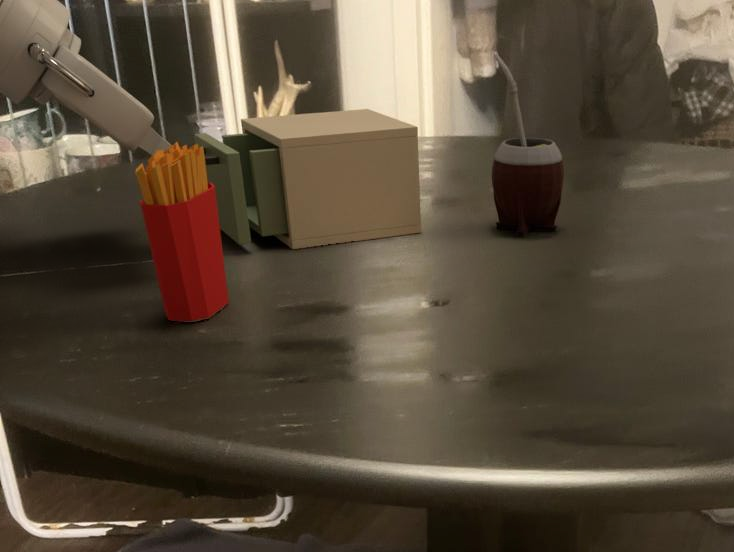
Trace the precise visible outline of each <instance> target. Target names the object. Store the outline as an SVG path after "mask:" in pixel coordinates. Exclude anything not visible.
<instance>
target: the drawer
mask: <svg viewBox="0 0 734 552" xmlns="http://www.w3.org/2000/svg"><path fill="white" fill-rule="evenodd" d="M221 139H222V141H220V140H218V139H217V138H215V137H213V136H211V135H210V134H208V133H206V132H203V133H195V134H194V141H195V144H198V148H199V147H202V146H203V148H204V157H205V165H206V174H207V182H210V183H212V184H213V185H214V187H215V193H216V201H217V210H218V218H219V226H220V231H222V232H223V233H225V234H226V235H227V236H228V237H230V239H232V240H233V241H235V242H236V243H237V244H238V245H246V244H247V245H248V244H251V243H252V239H251V230H250V229H252V230H253V231H254V232H256V233H257V234H259V235H260V236H261V237H269V236H270V237H271V236H274V235H278V234H286V233H289V231H288V223H287V214H286V205H285V196H284V187H283V178H282V170H281V161H280V152H279V147H278V146H276V145H274V144H272V143H270V142H269V141H267V140H265V139H263V138H261V137H259V136H257V135H255V134H253V133H244V134H243V133H235V134H232V133H231V134H222V135H221ZM188 148H189V147H187V149H188Z"/></svg>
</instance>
